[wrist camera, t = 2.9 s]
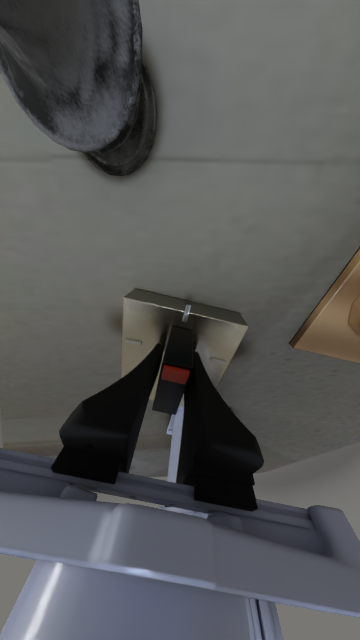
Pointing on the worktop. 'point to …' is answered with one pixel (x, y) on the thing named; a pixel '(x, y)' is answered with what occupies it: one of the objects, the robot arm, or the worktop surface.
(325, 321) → the button block
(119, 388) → the robot arm
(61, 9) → the salt shaker
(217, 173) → the worktop surface
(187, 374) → the knob
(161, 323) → the panel
